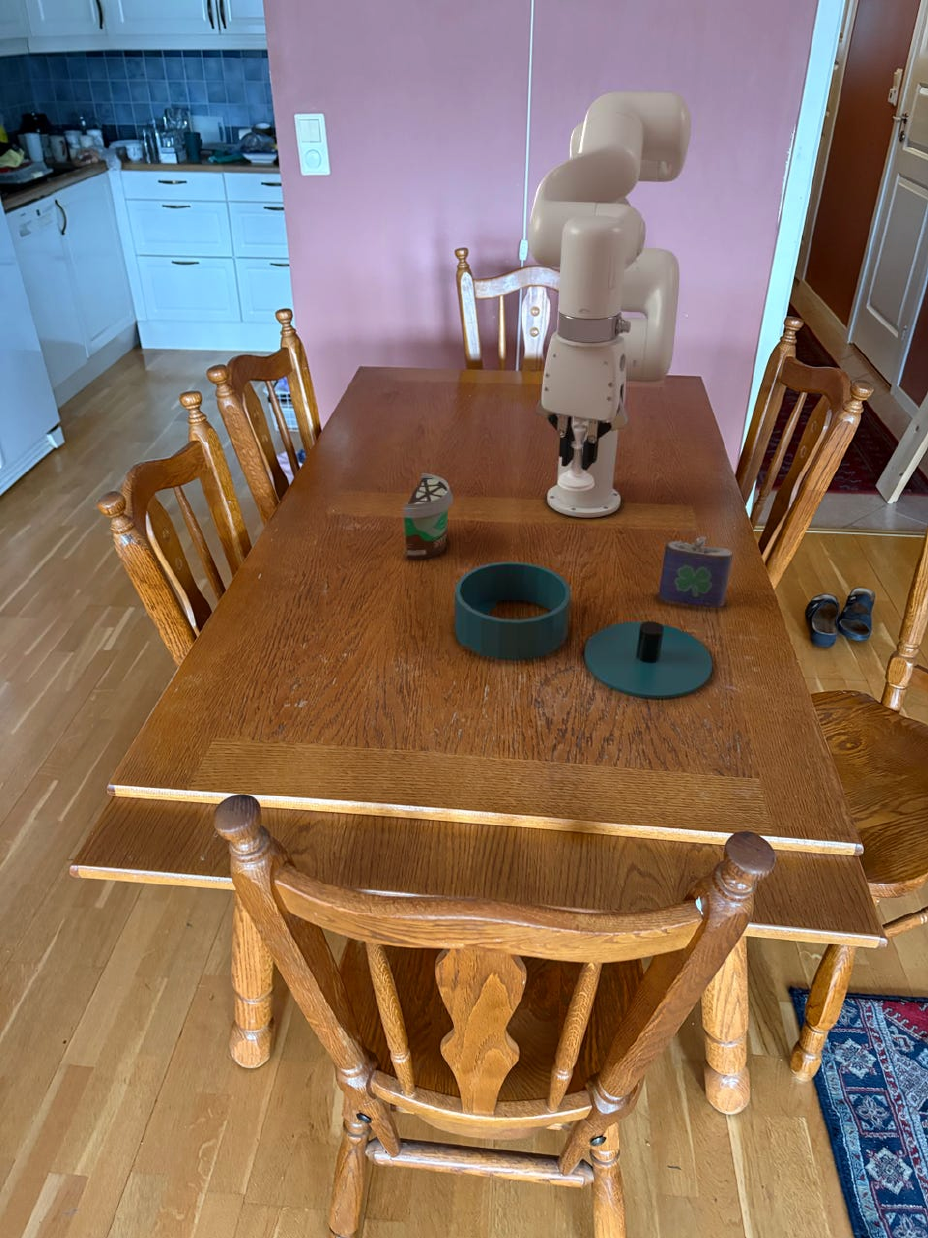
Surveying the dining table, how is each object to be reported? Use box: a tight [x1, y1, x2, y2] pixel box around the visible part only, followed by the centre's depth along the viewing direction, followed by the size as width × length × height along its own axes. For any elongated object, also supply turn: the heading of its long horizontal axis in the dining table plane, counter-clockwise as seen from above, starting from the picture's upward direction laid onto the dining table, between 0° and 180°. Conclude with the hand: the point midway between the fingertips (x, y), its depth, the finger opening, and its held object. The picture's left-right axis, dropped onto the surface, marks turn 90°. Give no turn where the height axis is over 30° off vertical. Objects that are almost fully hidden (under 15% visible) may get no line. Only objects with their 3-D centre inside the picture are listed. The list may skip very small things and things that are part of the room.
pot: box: [454, 560, 572, 661], centre depth 124 cm, size 15×15×6 cm
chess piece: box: [558, 417, 594, 491], centre depth 121 cm, size 5×5×10 cm
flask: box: [658, 535, 733, 608], centre depth 129 cm, size 9×3×11 cm, turn 74°
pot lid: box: [583, 620, 713, 700], centre depth 118 cm, size 16×16×6 cm
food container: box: [402, 472, 454, 561], centre depth 143 cm, size 12×6×10 cm, turn 168°
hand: (577, 463), depth 122 cm, fingers closed on chess piece
